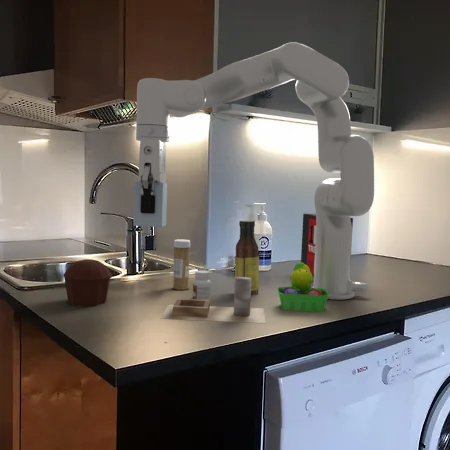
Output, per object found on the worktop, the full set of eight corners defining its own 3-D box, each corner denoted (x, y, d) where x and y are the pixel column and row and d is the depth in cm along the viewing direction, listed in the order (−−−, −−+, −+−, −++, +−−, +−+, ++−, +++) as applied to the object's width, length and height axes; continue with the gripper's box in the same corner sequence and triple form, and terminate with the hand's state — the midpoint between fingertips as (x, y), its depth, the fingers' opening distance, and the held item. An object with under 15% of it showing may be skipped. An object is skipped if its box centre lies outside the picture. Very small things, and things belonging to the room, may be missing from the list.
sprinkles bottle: (192, 289, 139) (193, 240, 138) (177, 290, 137) (178, 241, 135) (184, 286, 143) (185, 238, 142) (169, 287, 140) (170, 239, 139)
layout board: (263, 312, 117) (265, 274, 116) (265, 327, 105) (267, 285, 104) (168, 308, 118) (169, 270, 117) (160, 323, 106) (161, 280, 105)
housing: (166, 224, 121) (167, 183, 121) (161, 226, 115) (163, 182, 114) (139, 223, 122) (140, 182, 121) (133, 225, 115) (134, 181, 114)
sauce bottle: (261, 294, 136) (264, 220, 134) (254, 299, 130) (258, 222, 128) (237, 291, 138) (240, 219, 136) (230, 296, 132) (233, 220, 130)
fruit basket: (278, 315, 116) (280, 266, 115) (276, 305, 124) (278, 260, 123) (328, 317, 115) (331, 268, 114) (322, 307, 124) (325, 262, 123)
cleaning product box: (349, 282, 156) (353, 218, 155) (323, 283, 154) (326, 217, 152) (324, 272, 172) (327, 213, 170) (300, 273, 170) (303, 213, 168)
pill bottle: (192, 300, 127) (193, 269, 126) (209, 300, 127) (210, 270, 126) (192, 304, 122) (193, 273, 122) (210, 305, 123) (211, 273, 122)
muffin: (60, 297, 125) (60, 257, 124) (106, 294, 129) (106, 256, 128) (66, 309, 114) (67, 265, 113) (116, 306, 119) (116, 263, 118)
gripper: (162, 131, 108) (160, 215, 109) (174, 138, 125) (172, 210, 127) (127, 130, 108) (126, 214, 110) (144, 137, 125) (142, 209, 127)
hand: (150, 211), depth 118 cm, fingers closed on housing, 6 cm apart
